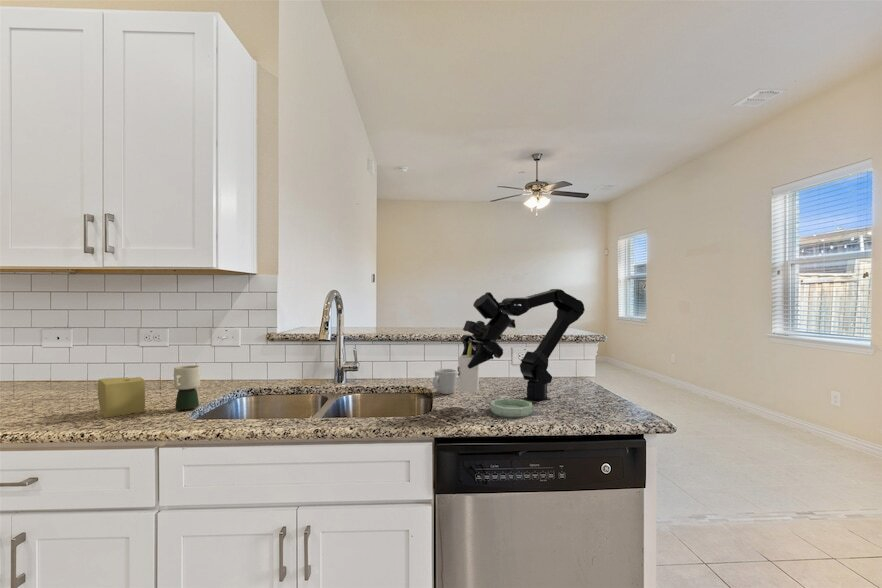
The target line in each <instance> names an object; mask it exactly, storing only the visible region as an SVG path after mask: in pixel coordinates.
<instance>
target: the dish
mask: <svg viewBox="0 0 882 588" xmlns="http://www.w3.org/2000/svg"><path fill="white" fill-rule="evenodd" d="M532 402H533V401H530V400H526V399H521V398H500V399H498V398H497V399H493V400H491V403H490V409H491V412H492V413H493V414H495V415H498V416H503V417H525V418H527V417H526V416H529V415H531V414H532V411H533V410H534V409H533V403H532ZM495 415H494V416H495ZM498 416H497V417H498Z"/></svg>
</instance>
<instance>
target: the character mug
mask: <svg viewBox="0 0 882 588" xmlns="http://www.w3.org/2000/svg"><path fill="white" fill-rule="evenodd" d="M173 378H174V379H173V380H174V382H173V387H174V389H176V390H178V391H177V394H176V399H175V407H174V409H175V410H176V411H177V410H183V411H186V410H190V409H197V408H199V406H200V404H199V395H198V391H197V388H199V387H201V366H200V365H194V364H193V365H180V366H179V365H178V366H175V367H174V368H173Z"/></svg>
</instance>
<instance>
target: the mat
mask: <svg viewBox="0 0 882 588" xmlns="http://www.w3.org/2000/svg"><path fill="white" fill-rule="evenodd" d="M480 412H483V413H487V414H489V415H493V416H496V417H498V418H502V419H505V420H508V421H511V422H512V421H516V420H521V419H525V418H529V417H533V416H538V415H542V414H544V413H543V412H542V411H541V412H540V411H537V410H534V409H533V411H532V414H531V415H529V416H526V417H503V416H498V415H495V414H493V413H492V412H491V408H486V409H481V410H480Z"/></svg>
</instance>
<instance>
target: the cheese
mask: <svg viewBox="0 0 882 588" xmlns="http://www.w3.org/2000/svg"><path fill="white" fill-rule="evenodd" d="M97 399H98V404H99V412H100V414H101V416H103V417H104V419H108V417H110V418H115V416H116V417H121V416H120V415H123V416H127V415H126V414H129V415H132V414H131V413H135V414H139V413H138V412H142V413H145V412H144V411H146V410H145V409H146V380H145V379H144V378H143V377H141V376H139V377H138V376H137V377H108V378H100V379H98V382H97Z"/></svg>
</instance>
